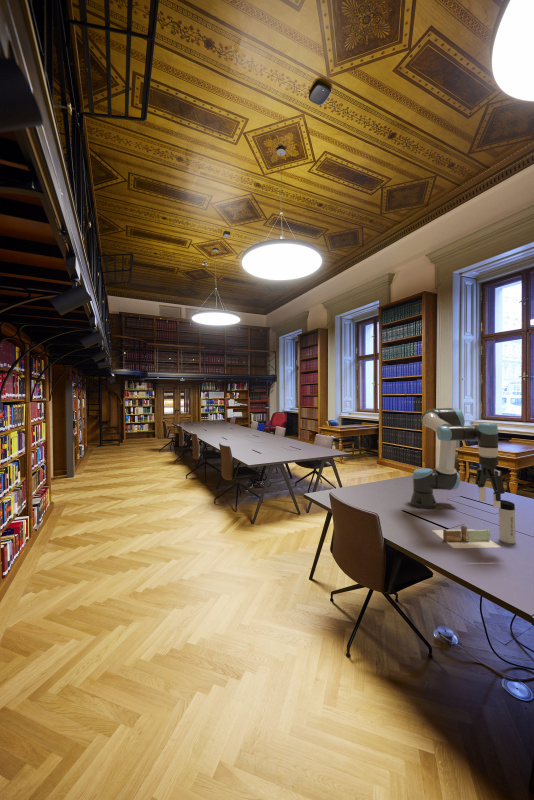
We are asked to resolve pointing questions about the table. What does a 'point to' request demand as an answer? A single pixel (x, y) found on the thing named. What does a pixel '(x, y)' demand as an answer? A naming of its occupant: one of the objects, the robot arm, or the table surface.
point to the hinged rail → (478, 535)
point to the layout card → (468, 542)
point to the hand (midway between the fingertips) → (489, 504)
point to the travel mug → (507, 522)
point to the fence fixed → (455, 535)
